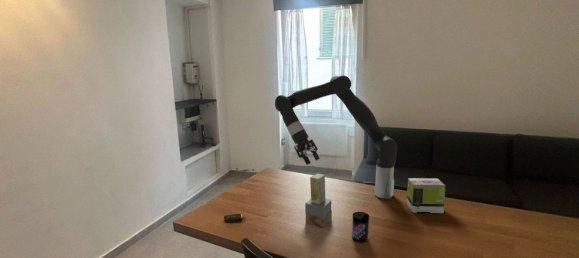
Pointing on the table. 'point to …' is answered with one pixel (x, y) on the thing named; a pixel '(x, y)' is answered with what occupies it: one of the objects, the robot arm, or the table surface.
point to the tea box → (426, 195)
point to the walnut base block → (319, 220)
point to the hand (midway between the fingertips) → (313, 161)
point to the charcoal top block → (318, 208)
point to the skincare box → (317, 188)
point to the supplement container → (360, 226)
